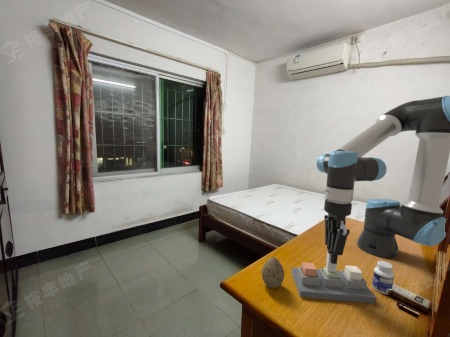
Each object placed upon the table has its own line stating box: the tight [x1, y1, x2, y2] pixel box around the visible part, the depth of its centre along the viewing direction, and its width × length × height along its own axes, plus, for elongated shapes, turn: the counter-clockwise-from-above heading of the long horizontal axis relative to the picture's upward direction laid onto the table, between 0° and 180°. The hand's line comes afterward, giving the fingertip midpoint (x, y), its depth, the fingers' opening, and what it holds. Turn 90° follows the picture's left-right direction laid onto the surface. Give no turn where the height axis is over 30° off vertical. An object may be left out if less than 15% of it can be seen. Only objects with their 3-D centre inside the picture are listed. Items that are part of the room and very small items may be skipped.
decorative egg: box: [261, 256, 285, 289], centre depth 69 cm, size 7×7×10 cm
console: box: [290, 266, 377, 304], centre depth 70 cm, size 22×12×4 cm, turn 85°
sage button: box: [322, 266, 339, 279], centre depth 69 cm, size 4×4×3 cm
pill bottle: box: [371, 260, 395, 295], centre depth 69 cm, size 5×5×9 cm
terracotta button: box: [301, 261, 318, 277], centre depth 70 cm, size 4×4×3 cm
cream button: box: [344, 265, 363, 281], centre depth 68 cm, size 4×4×3 cm
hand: (330, 270), depth 69 cm, fingers closed
